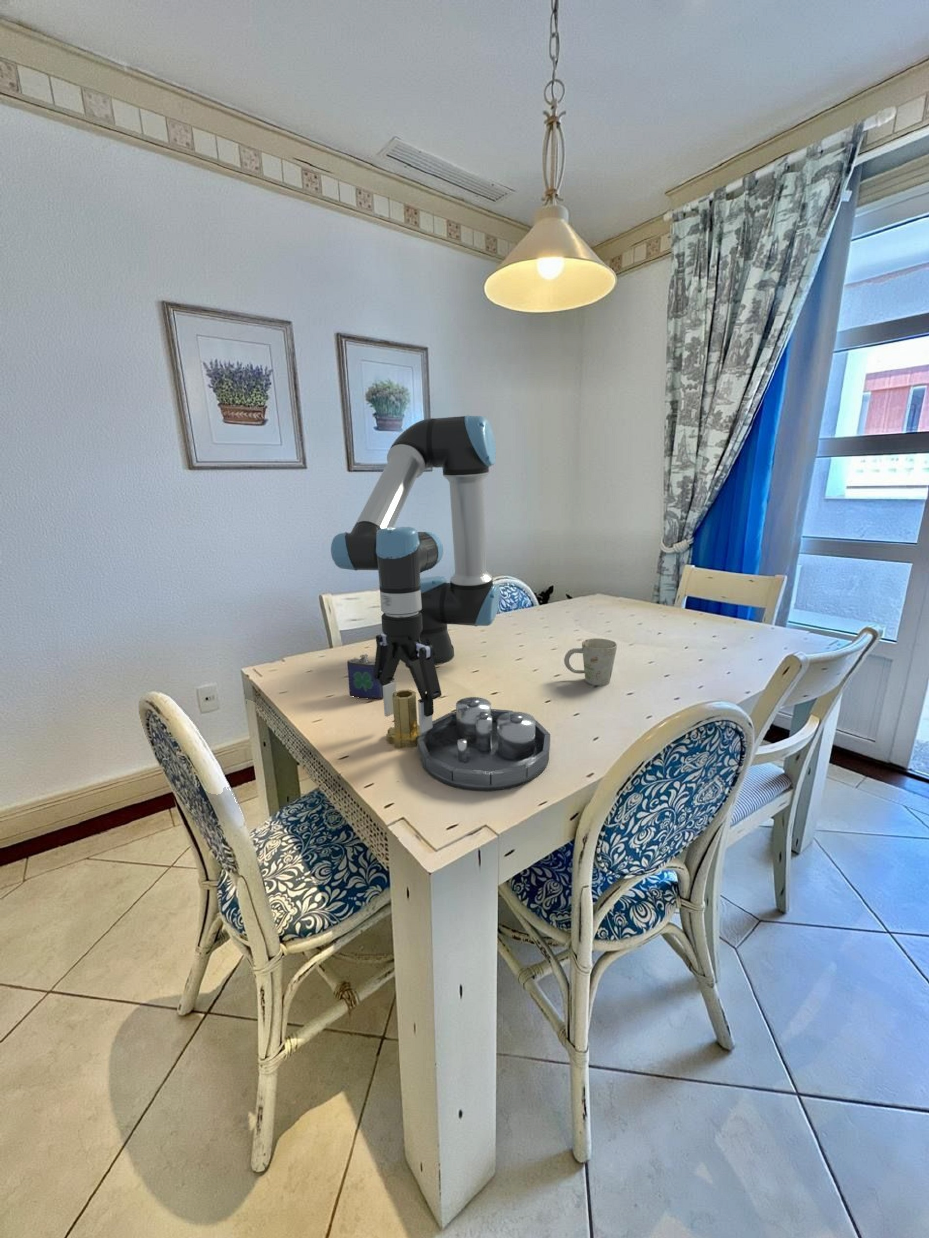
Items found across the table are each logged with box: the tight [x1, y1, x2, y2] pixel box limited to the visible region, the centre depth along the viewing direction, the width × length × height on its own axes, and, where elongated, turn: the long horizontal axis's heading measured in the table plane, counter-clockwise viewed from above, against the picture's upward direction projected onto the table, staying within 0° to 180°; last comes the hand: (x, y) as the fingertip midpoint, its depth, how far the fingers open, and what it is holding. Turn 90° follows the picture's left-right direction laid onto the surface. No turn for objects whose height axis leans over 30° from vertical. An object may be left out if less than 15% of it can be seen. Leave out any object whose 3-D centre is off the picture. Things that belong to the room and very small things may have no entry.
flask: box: [346, 653, 383, 700], centre depth 117 cm, size 9×3×11 cm, turn 74°
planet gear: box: [386, 689, 421, 749], centre depth 97 cm, size 8×8×10 cm
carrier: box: [416, 696, 551, 792], centre depth 91 cm, size 24×24×8 cm
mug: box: [563, 637, 618, 686], centre depth 123 cm, size 8×13×10 cm, turn 78°
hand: (407, 721), depth 97 cm, fingers open, 10 cm apart
